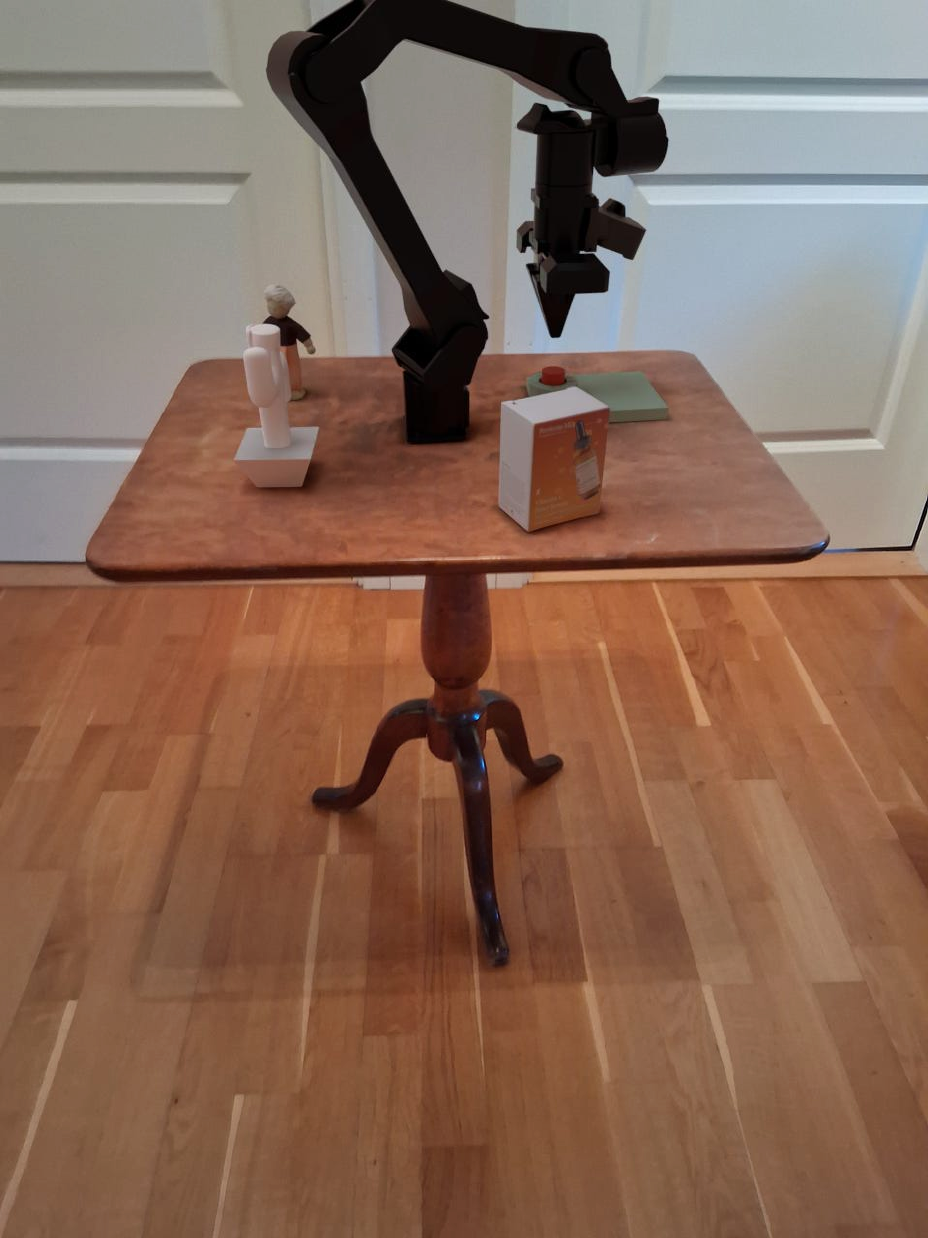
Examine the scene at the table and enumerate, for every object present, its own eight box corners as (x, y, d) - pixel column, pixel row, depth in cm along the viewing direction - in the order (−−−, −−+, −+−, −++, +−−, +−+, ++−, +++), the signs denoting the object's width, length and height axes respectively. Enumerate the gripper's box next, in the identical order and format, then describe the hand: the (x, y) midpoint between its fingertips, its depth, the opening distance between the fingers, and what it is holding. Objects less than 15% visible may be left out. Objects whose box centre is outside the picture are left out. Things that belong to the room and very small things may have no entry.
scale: (536, 426, 98) (537, 400, 97) (520, 388, 107) (520, 363, 105) (667, 419, 100) (670, 393, 98) (640, 382, 108) (642, 357, 107)
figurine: (324, 455, 93) (308, 309, 84) (313, 499, 85) (295, 343, 76) (254, 456, 93) (231, 310, 84) (237, 500, 85) (210, 344, 76)
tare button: (543, 388, 100) (544, 374, 99) (539, 379, 102) (540, 366, 101) (566, 387, 101) (567, 373, 100) (561, 378, 103) (562, 365, 102)
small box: (527, 534, 80) (531, 424, 74) (496, 507, 84) (498, 400, 78) (601, 513, 83) (612, 405, 77) (568, 488, 87) (576, 384, 81)
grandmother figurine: (254, 398, 105) (237, 287, 98) (266, 386, 108) (251, 278, 101) (315, 403, 104) (303, 292, 96) (327, 391, 107) (316, 282, 99)
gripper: (670, 198, 82) (650, 364, 92) (619, 162, 97) (606, 307, 106) (551, 202, 81) (543, 369, 91) (517, 164, 96) (513, 311, 105)
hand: (555, 336), depth 98 cm, fingers closed
